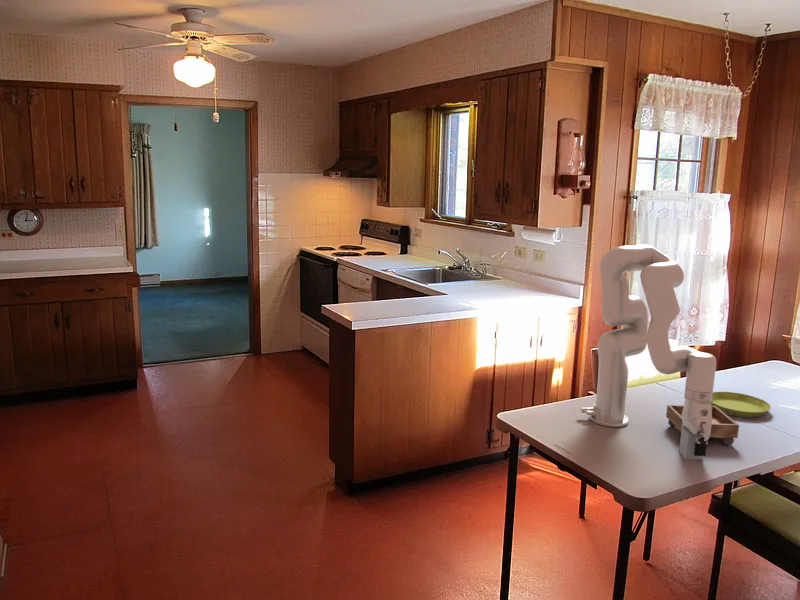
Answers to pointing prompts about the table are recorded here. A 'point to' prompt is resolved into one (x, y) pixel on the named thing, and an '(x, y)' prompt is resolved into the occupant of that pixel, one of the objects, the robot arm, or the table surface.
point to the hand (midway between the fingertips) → (692, 448)
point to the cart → (719, 427)
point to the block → (688, 444)
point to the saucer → (739, 404)
